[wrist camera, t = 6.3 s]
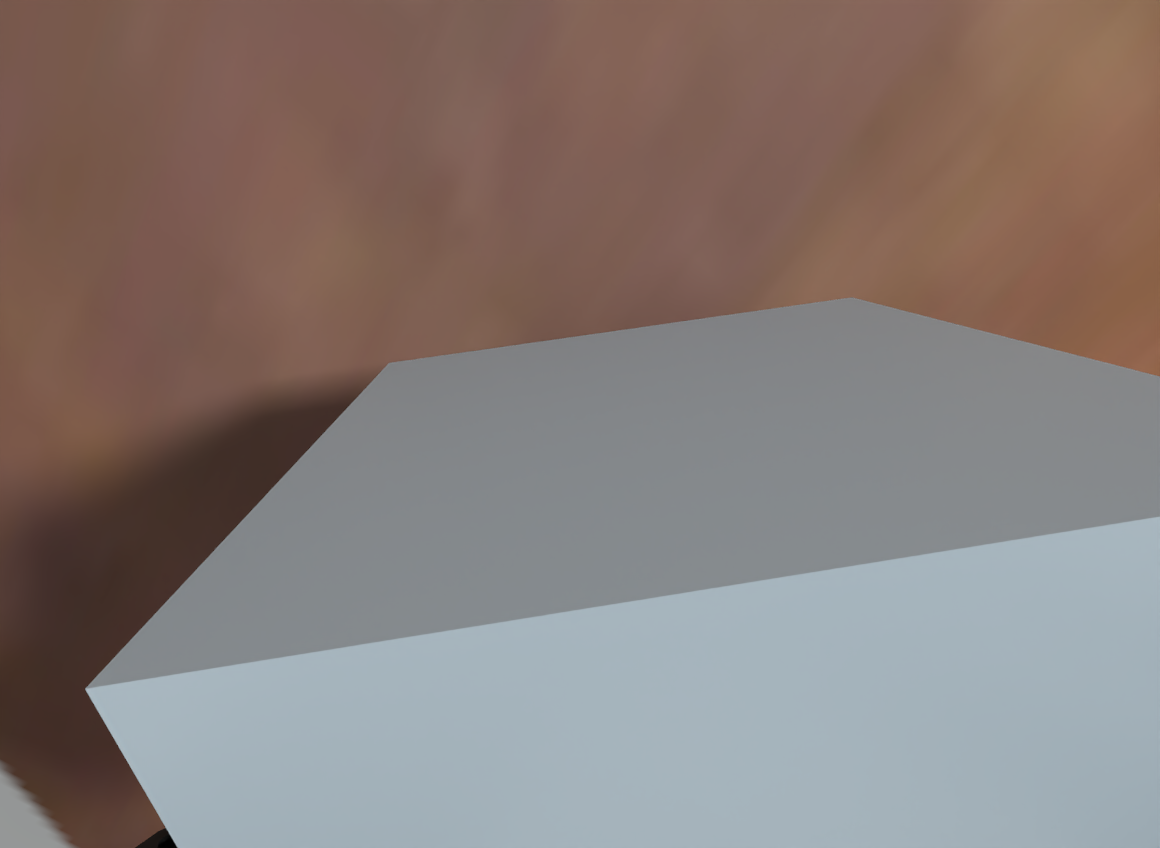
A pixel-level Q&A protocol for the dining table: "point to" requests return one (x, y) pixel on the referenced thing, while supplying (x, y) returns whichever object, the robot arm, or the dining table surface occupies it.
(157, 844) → the robot arm
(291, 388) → the dining table surface
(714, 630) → the pale blue cuboid
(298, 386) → the dining table surface
